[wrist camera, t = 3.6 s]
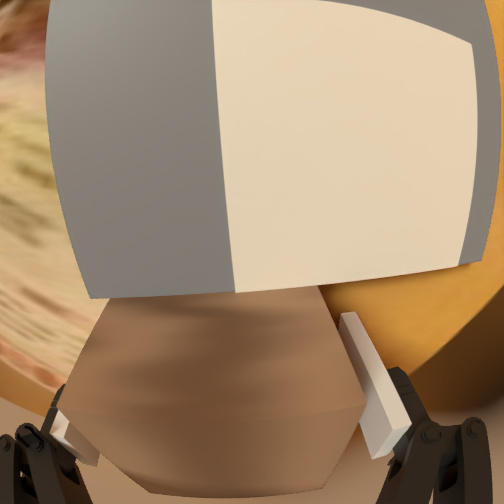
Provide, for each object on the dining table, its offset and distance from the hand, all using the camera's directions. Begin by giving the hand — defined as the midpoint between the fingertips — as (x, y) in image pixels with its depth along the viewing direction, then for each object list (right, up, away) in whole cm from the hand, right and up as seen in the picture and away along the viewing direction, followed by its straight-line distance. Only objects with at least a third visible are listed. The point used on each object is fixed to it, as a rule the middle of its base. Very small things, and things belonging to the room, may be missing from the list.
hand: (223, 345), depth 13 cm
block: (0, 0, 0) cm, 0 cm away
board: (+3, +10, -5) cm, 12 cm away
